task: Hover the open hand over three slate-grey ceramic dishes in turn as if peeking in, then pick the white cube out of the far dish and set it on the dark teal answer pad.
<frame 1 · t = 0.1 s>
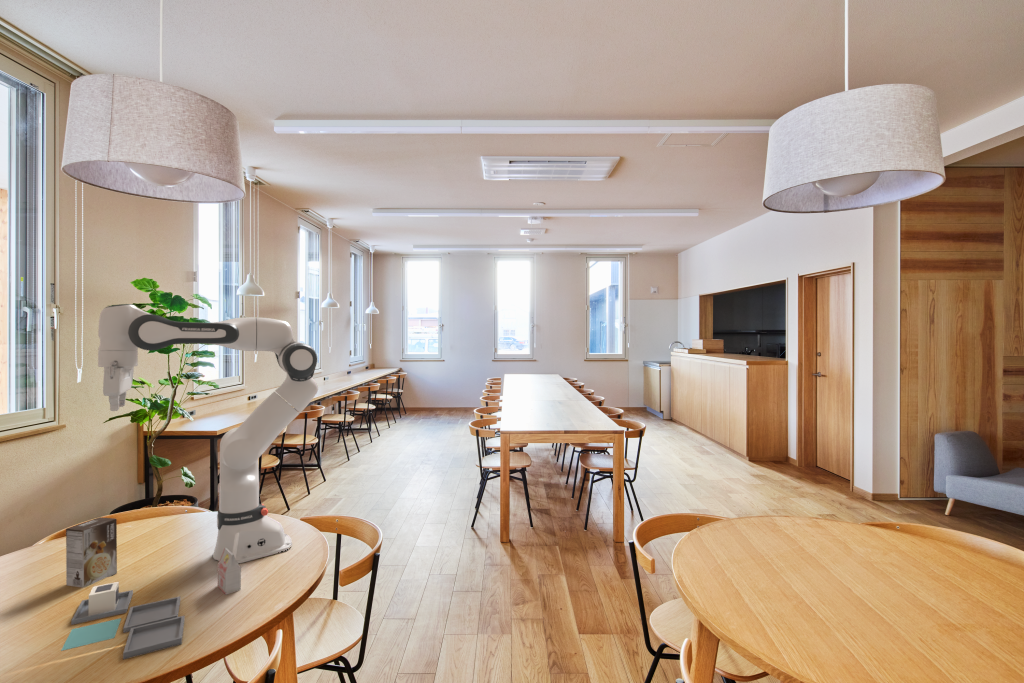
hand: (117, 408, 138), 48 cm above the table, tool pointing down, fingers open, 8 cm apart
dish A: (103, 609, 120), on the table
white cube: (103, 608, 120), resting on dish A
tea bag: (229, 588, 132), on the table
answer pad: (92, 635, 110), on the table
dish B: (153, 617, 117), on the table
coffee box: (92, 580, 135), on the table
dish C: (155, 639, 109), on the table
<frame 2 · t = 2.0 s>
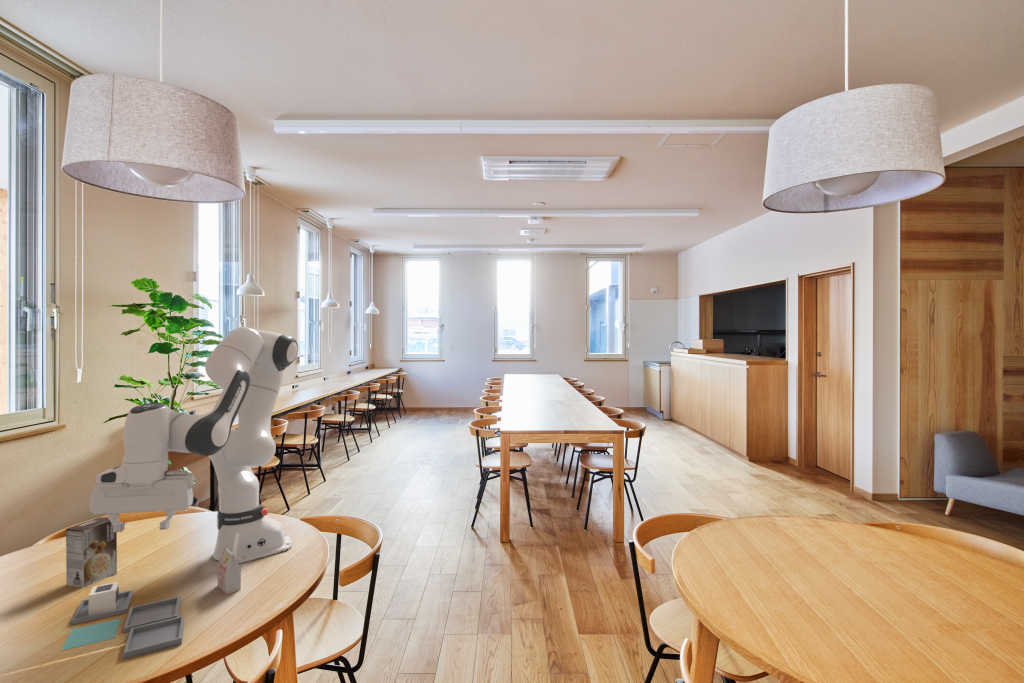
hand: (141, 530, 115), 22 cm above the table, tool pointing down, fingers open, 8 cm apart
nothing on the table moved.
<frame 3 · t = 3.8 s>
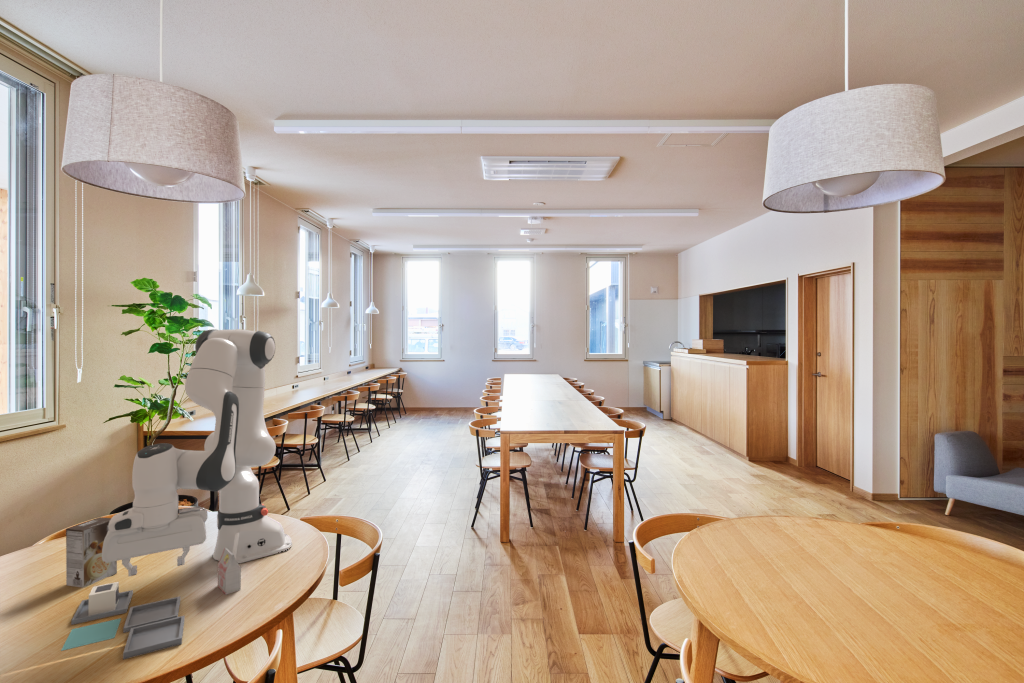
hand: (157, 569, 116), 12 cm above the table, tool pointing down, fingers open, 8 cm apart
nothing on the table moved.
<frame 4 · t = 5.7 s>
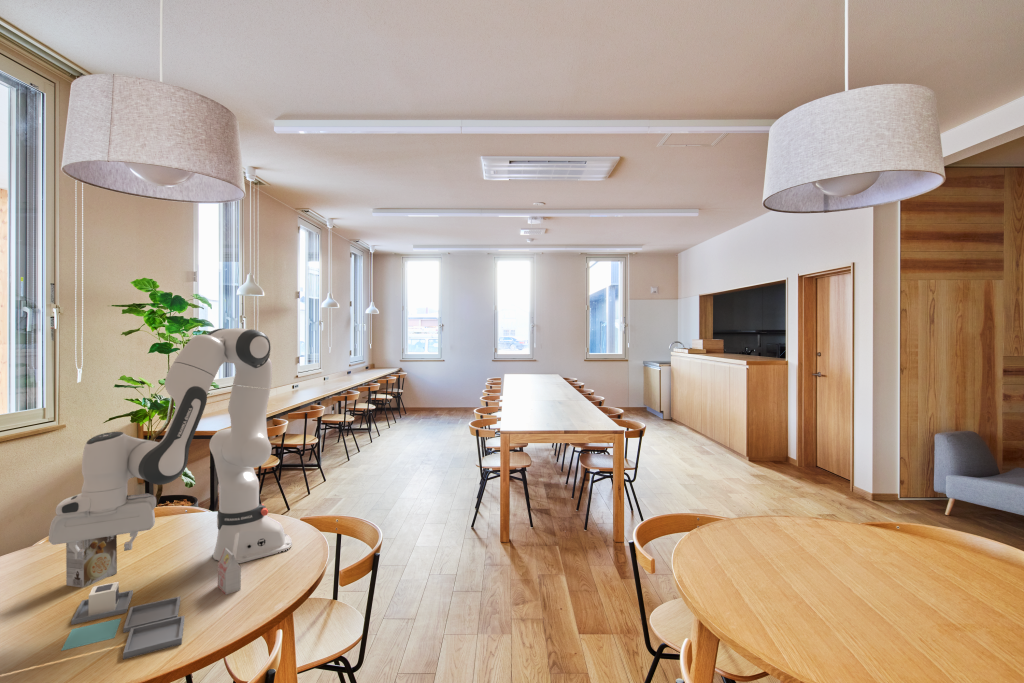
hand: (104, 553, 120), 14 cm above the table, tool pointing down, fingers open, 8 cm apart
nothing on the table moved.
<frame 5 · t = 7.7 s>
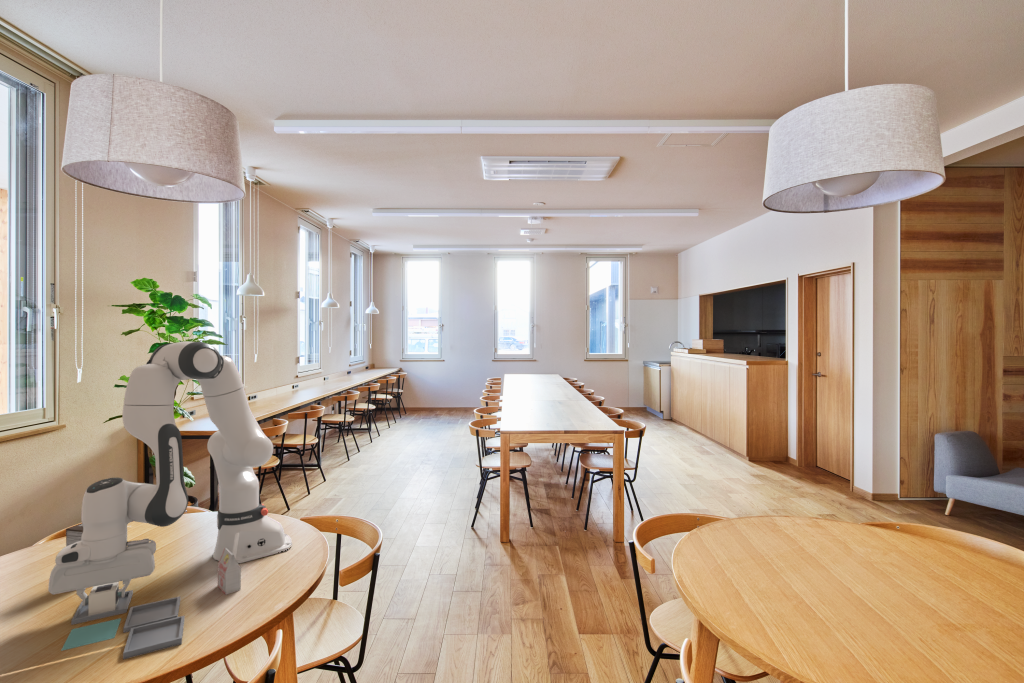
hand: (104, 600, 120), 2 cm above the table, tool pointing down, fingers closed on white cube, 5 cm apart
white cube: (103, 608, 120), resting on dish A, touching gripper
everything else where it was.
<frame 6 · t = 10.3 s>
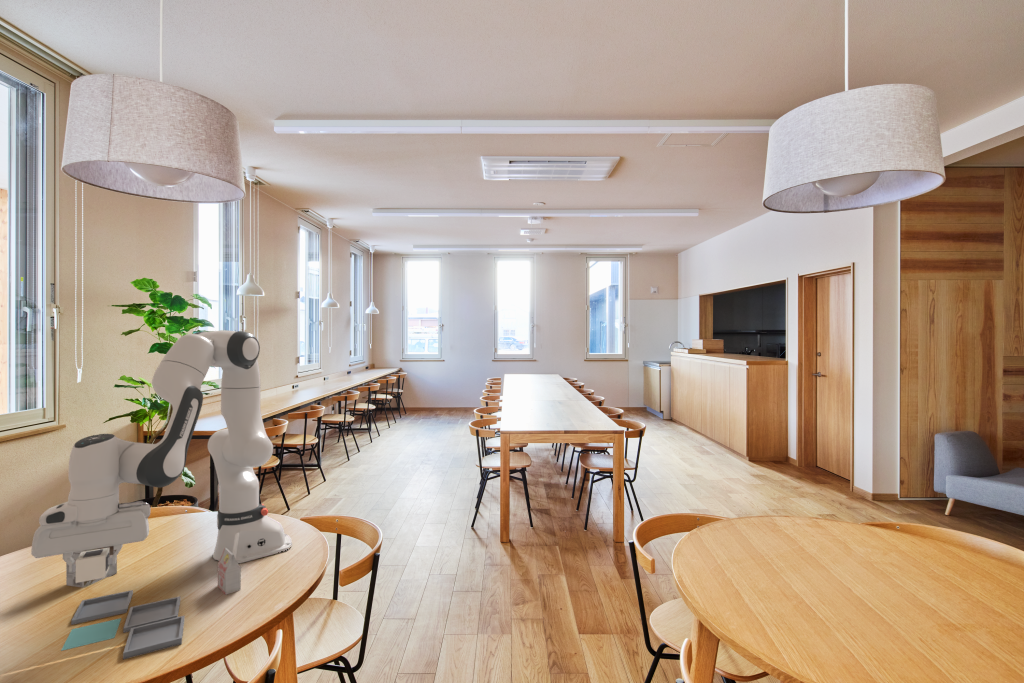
hand: (93, 567, 110), 16 cm above the table, tool pointing down, fingers closed on white cube, 5 cm apart
white cube: (92, 575, 110), point 14 cm above the table, touching gripper
everything else where it was.
when the fingers open (3 cm above the table, at t = 12.8 s): white cube drops 1 cm, resting on answer pad.
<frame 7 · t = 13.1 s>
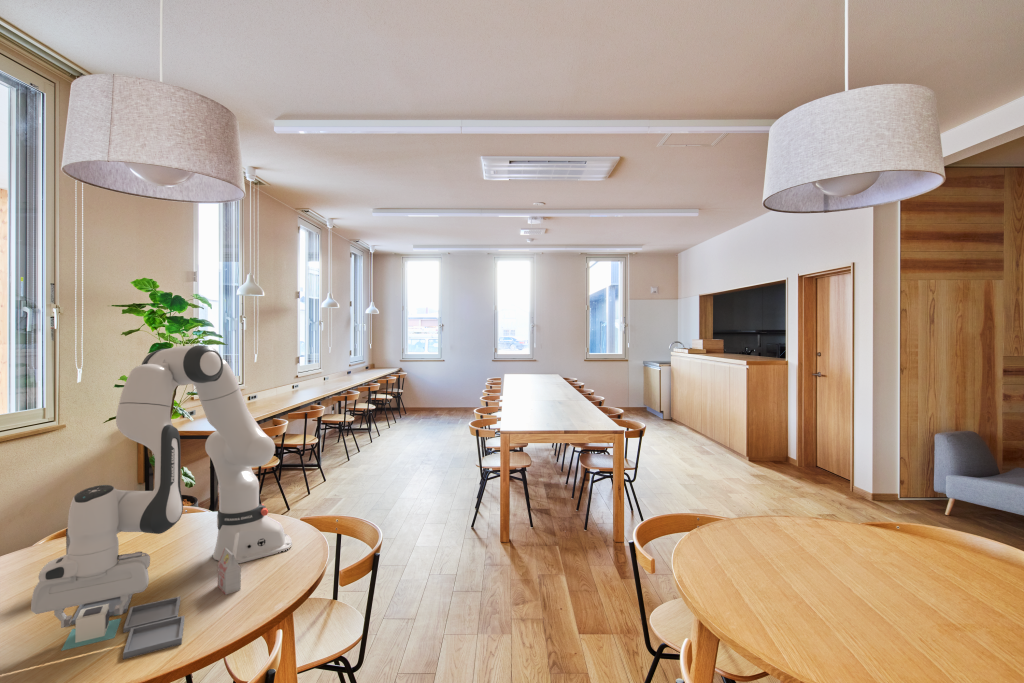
hand: (93, 619, 110), 3 cm above the table, tool pointing down, fingers open, 8 cm apart
white cube: (92, 633, 110), resting on answer pad
everything else where it was.
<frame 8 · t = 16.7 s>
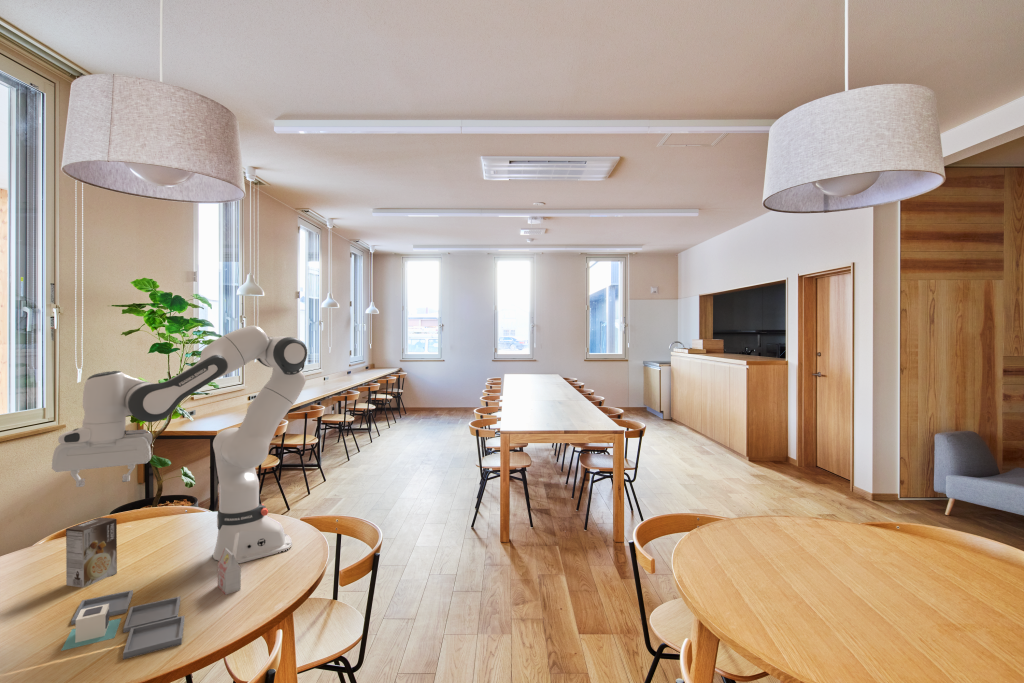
hand: (103, 483, 129), 29 cm above the table, tool pointing down, fingers open, 8 cm apart
nothing on the table moved.
at the end: white cube inside the target area on the answer pad (0.0 cm from its centre), point 0.4 cm above the answer pad's base; the gripper is holding nothing; white cube touching answer pad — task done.
